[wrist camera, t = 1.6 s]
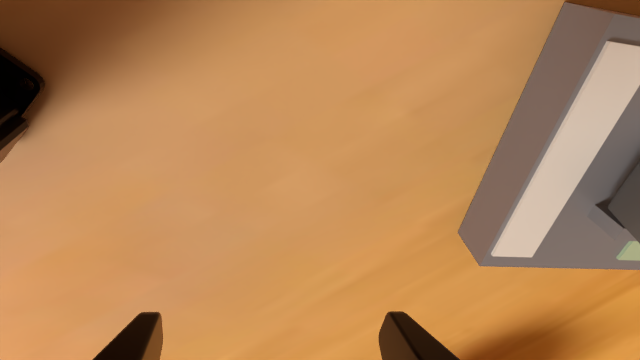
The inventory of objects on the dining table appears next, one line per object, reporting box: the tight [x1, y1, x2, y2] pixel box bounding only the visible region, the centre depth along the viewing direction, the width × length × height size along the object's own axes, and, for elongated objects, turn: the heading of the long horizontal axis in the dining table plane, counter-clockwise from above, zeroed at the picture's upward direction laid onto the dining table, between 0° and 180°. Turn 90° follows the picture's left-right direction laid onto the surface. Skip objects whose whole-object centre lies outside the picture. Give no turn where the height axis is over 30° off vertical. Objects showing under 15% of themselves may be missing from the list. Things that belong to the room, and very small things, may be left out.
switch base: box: [458, 2, 640, 270], centre depth 20 cm, size 12×14×5 cm
